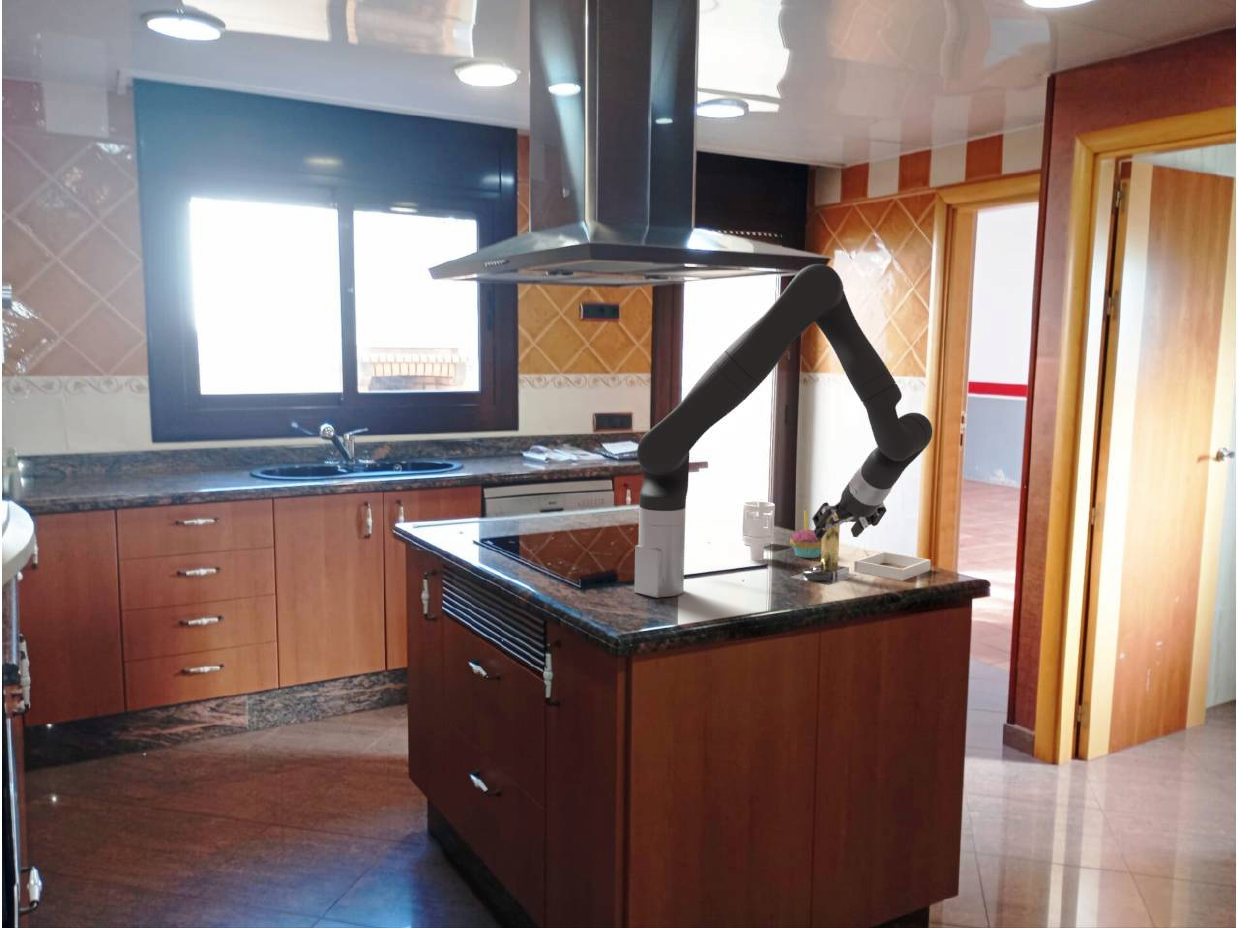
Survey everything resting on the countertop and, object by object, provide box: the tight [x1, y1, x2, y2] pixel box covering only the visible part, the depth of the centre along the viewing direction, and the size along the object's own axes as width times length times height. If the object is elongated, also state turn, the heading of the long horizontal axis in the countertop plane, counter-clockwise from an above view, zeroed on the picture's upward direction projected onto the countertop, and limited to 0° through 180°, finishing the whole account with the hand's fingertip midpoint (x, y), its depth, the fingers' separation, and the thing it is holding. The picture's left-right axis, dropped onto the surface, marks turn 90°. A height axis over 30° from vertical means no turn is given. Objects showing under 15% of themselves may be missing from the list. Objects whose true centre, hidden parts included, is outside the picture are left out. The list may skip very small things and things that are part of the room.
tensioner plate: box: [790, 562, 857, 586], centre depth 207 cm, size 12×9×3 cm
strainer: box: [741, 499, 776, 562], centre depth 221 cm, size 7×7×15 cm
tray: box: [853, 551, 932, 582], centre depth 213 cm, size 13×11×4 cm
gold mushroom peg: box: [820, 513, 841, 572], centre depth 208 cm, size 5×5×13 cm
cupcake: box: [789, 507, 822, 559], centre depth 226 cm, size 9×8×12 cm
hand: (835, 534), depth 206 cm, fingers open, 8 cm apart
